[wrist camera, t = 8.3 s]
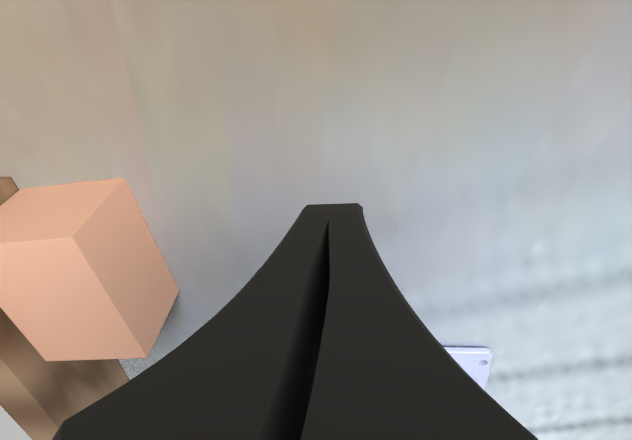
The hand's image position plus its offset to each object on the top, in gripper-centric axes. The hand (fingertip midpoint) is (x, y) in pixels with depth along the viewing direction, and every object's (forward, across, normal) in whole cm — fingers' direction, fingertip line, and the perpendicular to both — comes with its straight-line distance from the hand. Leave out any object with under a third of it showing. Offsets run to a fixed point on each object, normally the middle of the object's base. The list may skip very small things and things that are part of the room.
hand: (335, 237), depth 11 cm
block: (+10, +14, +8) cm, 19 cm away
